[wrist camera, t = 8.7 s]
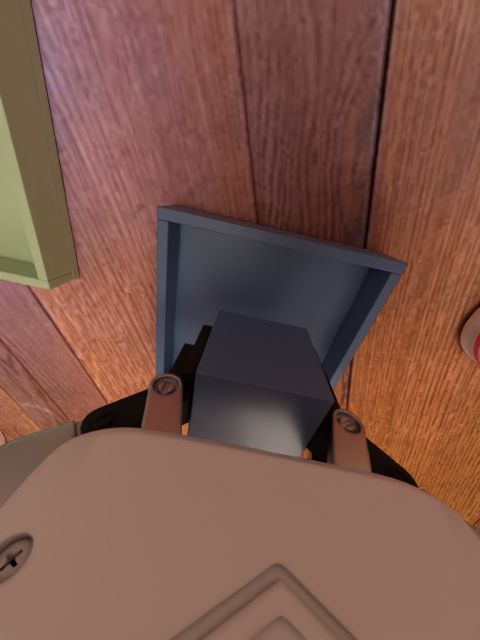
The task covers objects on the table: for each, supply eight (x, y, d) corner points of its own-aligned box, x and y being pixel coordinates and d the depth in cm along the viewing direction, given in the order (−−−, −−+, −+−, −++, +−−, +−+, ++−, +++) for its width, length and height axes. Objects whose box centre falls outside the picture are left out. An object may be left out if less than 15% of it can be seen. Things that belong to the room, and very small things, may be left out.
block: (219, 309, 12) (195, 372, 7) (307, 328, 12) (335, 401, 8) (207, 375, 14) (185, 452, 10) (281, 390, 14) (290, 473, 10)
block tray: (174, 205, 13) (156, 205, 11) (383, 253, 13) (409, 263, 11) (167, 366, 19) (155, 388, 17) (308, 396, 20) (314, 421, 18)
